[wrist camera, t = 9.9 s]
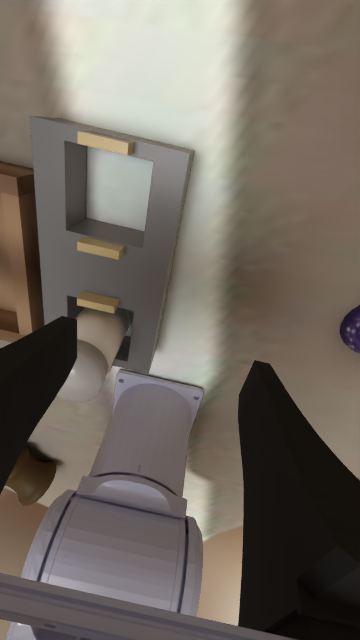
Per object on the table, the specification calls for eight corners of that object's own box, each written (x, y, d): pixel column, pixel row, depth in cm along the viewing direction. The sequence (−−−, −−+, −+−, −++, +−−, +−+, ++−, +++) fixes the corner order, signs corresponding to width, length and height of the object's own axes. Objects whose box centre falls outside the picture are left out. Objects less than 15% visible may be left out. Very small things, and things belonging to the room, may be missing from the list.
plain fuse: (132, 332, 24) (98, 407, 18) (89, 322, 24) (40, 394, 18) (136, 294, 22) (101, 363, 16) (90, 284, 22) (35, 348, 16)
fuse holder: (155, 349, 25) (145, 382, 22) (64, 328, 25) (39, 358, 22) (194, 150, 17) (188, 154, 14) (58, 118, 17) (17, 114, 14)
